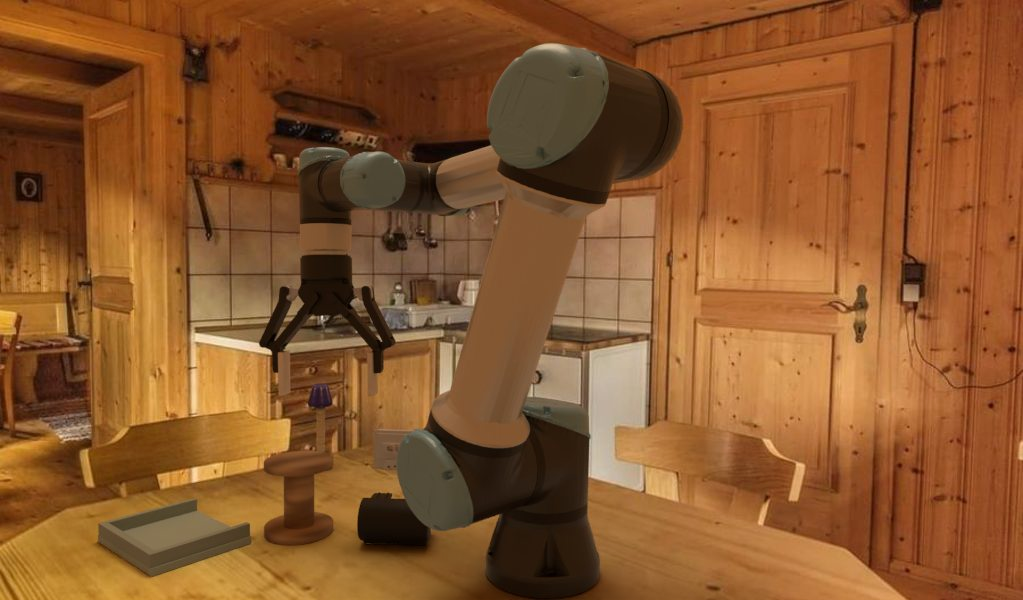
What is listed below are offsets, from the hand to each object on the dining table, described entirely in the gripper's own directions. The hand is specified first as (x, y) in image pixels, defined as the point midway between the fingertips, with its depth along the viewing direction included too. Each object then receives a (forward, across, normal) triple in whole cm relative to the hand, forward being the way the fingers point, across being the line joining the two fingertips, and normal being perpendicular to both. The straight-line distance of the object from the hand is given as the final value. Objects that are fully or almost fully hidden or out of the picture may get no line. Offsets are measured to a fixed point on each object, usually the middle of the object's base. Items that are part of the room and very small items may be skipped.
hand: (328, 394), depth 105 cm
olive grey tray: (+20, +21, +7) cm, 30 cm away
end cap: (+21, -11, +3) cm, 24 cm away
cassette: (+20, -4, -32) cm, 38 cm away
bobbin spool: (+21, +4, +1) cm, 21 cm away
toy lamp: (+20, +12, -30) cm, 38 cm away
